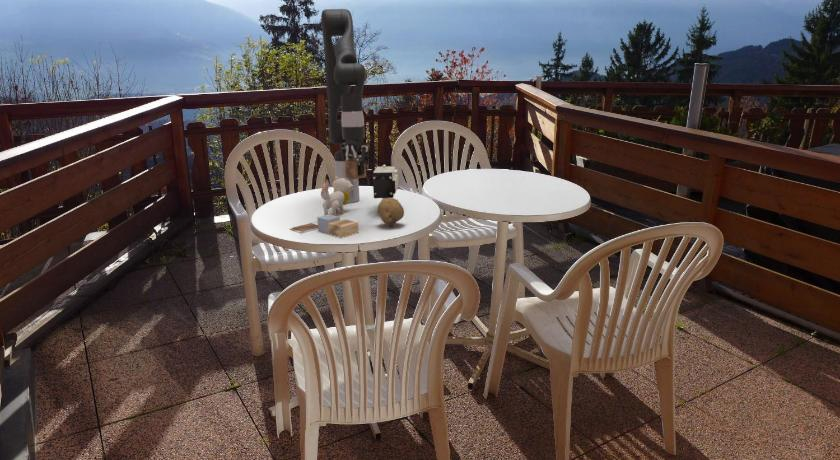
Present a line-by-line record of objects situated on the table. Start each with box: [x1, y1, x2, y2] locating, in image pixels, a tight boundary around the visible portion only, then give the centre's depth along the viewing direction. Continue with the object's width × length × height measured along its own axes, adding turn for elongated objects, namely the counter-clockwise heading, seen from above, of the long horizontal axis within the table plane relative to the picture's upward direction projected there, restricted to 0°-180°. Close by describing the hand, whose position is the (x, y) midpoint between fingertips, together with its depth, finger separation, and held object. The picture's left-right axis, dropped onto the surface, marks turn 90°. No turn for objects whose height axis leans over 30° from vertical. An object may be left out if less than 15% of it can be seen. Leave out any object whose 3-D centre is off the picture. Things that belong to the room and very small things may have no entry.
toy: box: [320, 175, 353, 216], centre depth 214 cm, size 9×19×15 cm, turn 161°
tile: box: [289, 222, 318, 234], centre depth 200 cm, size 7×9×1 cm
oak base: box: [328, 218, 359, 238], centre depth 192 cm, size 7×7×4 cm
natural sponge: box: [377, 197, 405, 227], centre depth 199 cm, size 9×9×10 cm
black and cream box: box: [372, 164, 400, 202], centre depth 218 cm, size 18×8×18 cm, turn 177°
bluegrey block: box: [316, 213, 341, 234], centre depth 196 cm, size 5×5×6 cm
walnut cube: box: [345, 158, 367, 180], centre depth 197 cm, size 5×5×6 cm
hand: (356, 174), depth 198 cm, fingers closed on walnut cube, 5 cm apart
